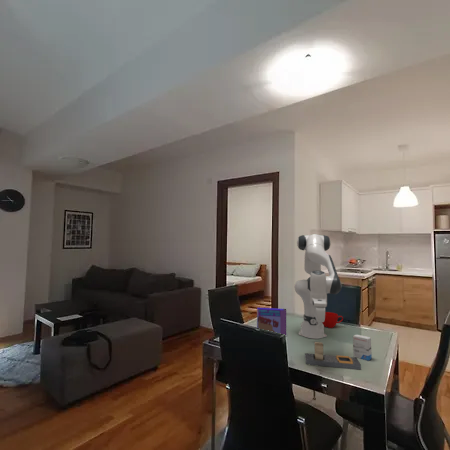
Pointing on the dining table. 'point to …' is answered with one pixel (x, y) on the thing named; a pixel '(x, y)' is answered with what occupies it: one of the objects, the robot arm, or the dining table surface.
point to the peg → (319, 350)
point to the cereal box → (272, 319)
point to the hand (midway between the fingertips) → (318, 326)
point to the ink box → (362, 347)
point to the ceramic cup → (331, 319)
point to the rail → (333, 361)
